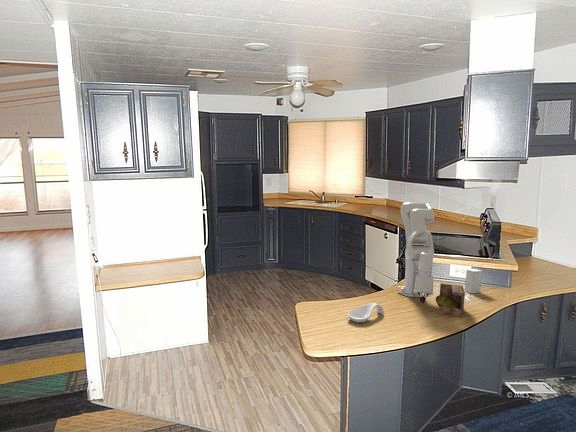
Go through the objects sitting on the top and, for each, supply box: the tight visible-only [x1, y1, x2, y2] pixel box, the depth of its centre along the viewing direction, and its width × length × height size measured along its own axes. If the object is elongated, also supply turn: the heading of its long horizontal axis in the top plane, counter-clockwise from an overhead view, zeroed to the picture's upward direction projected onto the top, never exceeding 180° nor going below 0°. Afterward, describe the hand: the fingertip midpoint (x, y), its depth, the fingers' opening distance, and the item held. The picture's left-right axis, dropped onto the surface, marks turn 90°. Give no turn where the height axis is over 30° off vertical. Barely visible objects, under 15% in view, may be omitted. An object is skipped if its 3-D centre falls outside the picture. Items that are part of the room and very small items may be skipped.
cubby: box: [439, 282, 466, 318], centre depth 241 cm, size 12×14×14 cm
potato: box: [435, 294, 459, 309], centre depth 242 cm, size 8×13×8 cm, turn 26°
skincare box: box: [464, 268, 483, 294], centre depth 275 cm, size 8×6×15 cm
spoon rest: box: [347, 302, 385, 324], centre depth 229 cm, size 24×12×7 cm, turn 128°
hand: (422, 303), depth 246 cm, fingers closed
